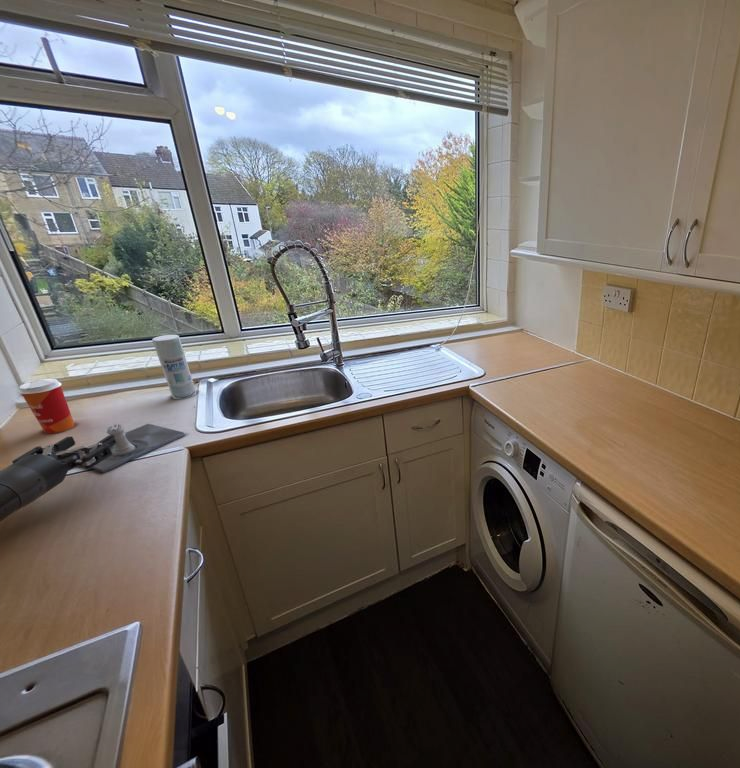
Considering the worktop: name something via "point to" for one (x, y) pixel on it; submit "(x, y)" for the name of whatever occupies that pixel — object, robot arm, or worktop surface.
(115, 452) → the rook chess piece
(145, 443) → the plate
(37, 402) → the paper cup
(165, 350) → the spray can
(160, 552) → the worktop surface
